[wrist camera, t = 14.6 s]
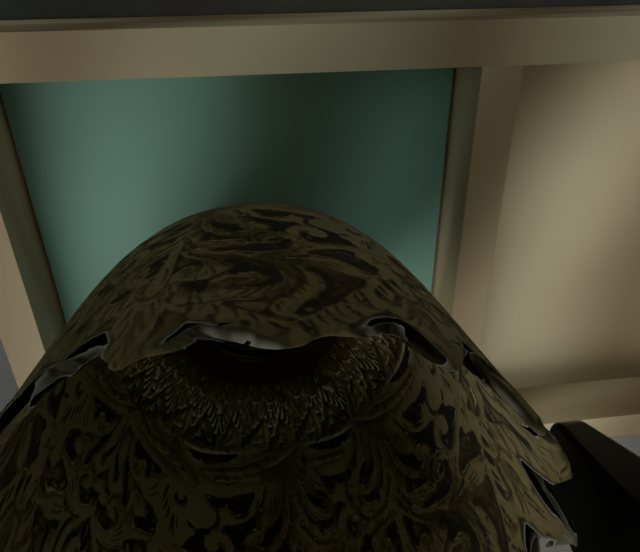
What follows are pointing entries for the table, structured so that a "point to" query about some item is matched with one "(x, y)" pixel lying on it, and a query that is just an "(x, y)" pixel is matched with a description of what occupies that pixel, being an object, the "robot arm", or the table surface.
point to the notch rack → (349, 167)
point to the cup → (272, 407)
